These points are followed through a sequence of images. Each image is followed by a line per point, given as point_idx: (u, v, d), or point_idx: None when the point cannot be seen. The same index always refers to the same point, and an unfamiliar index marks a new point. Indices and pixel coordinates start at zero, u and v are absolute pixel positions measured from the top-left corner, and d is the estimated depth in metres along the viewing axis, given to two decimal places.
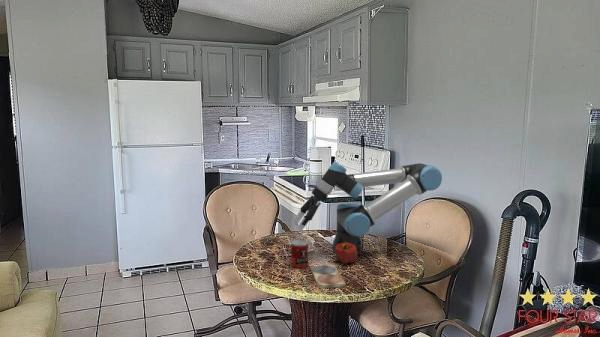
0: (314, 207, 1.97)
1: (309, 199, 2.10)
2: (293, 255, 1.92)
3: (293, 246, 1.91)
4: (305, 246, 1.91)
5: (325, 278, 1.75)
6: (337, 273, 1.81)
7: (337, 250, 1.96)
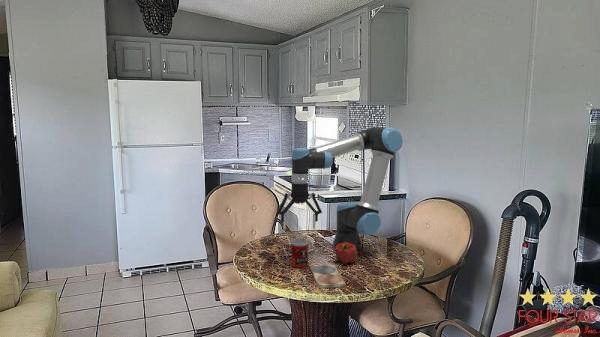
0: (316, 200, 1.92)
1: None
2: (293, 255, 1.92)
3: (293, 246, 1.91)
4: (305, 246, 1.91)
5: (325, 278, 1.75)
6: (337, 273, 1.81)
7: (337, 250, 1.96)
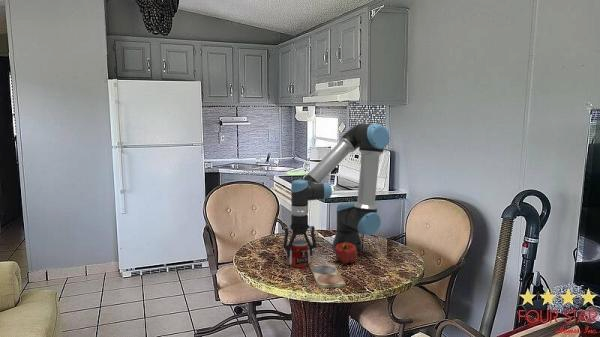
0: None
1: None
2: (293, 255, 1.92)
3: (293, 246, 1.91)
4: (305, 246, 1.91)
5: (325, 278, 1.75)
6: (337, 273, 1.81)
7: (337, 250, 1.96)
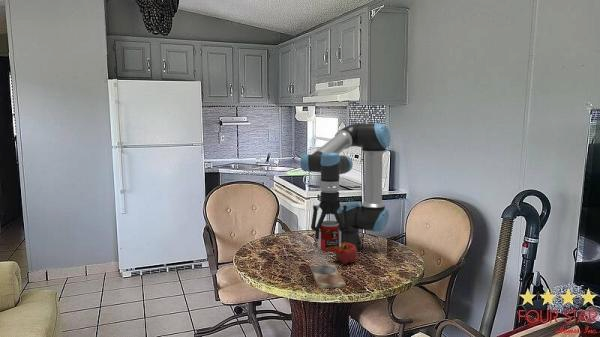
0: None
1: None
2: (323, 237, 1.70)
3: (323, 227, 1.70)
4: (336, 227, 1.69)
5: (325, 278, 1.75)
6: (337, 273, 1.81)
7: (337, 250, 1.96)
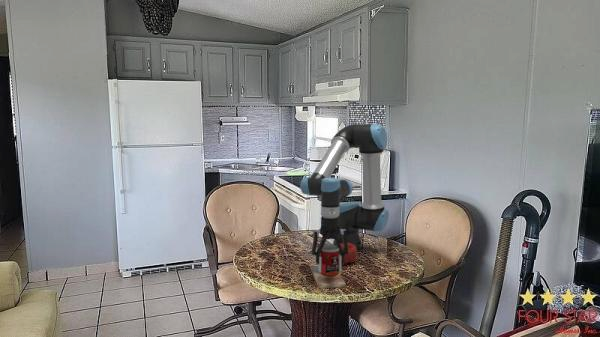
0: (346, 239, 1.73)
1: (317, 236, 1.71)
2: (323, 262, 1.71)
3: (323, 252, 1.71)
4: (336, 252, 1.71)
5: (325, 278, 1.75)
6: None
7: None
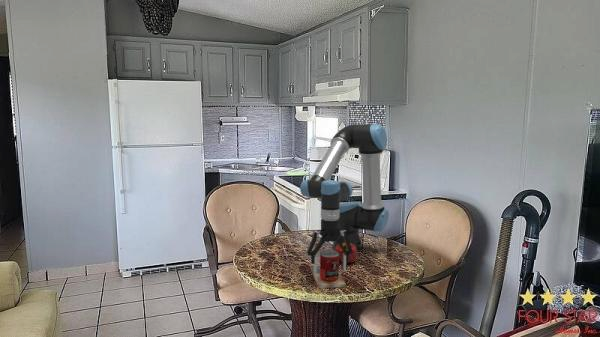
0: (347, 239, 1.74)
1: (316, 238, 1.71)
2: (323, 267, 1.72)
3: (323, 257, 1.71)
4: (336, 257, 1.71)
5: None
6: None
7: (337, 250, 1.96)
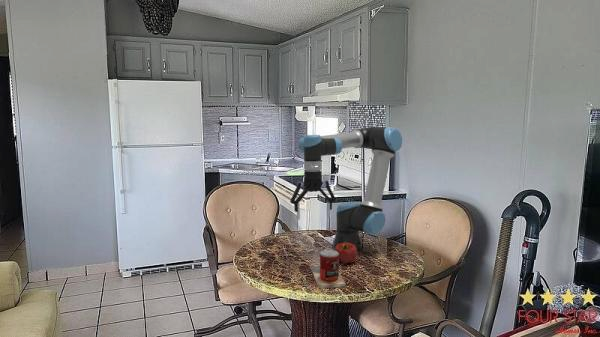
0: None
1: (300, 187, 1.84)
2: (323, 267, 1.72)
3: (323, 257, 1.71)
4: (336, 257, 1.71)
5: None
6: None
7: (337, 250, 1.96)
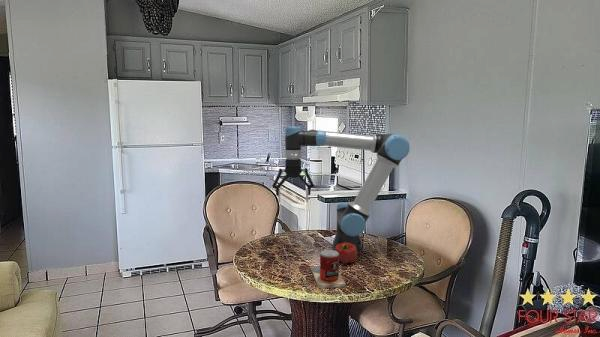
0: None
1: None
2: (323, 267, 1.72)
3: (323, 257, 1.71)
4: (336, 257, 1.71)
5: None
6: None
7: (337, 250, 1.96)
